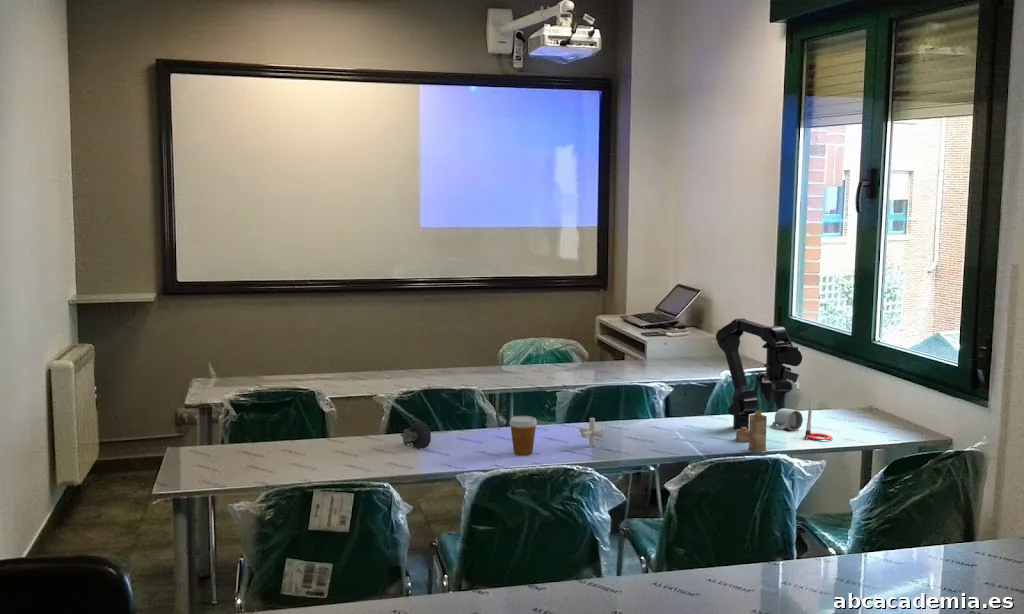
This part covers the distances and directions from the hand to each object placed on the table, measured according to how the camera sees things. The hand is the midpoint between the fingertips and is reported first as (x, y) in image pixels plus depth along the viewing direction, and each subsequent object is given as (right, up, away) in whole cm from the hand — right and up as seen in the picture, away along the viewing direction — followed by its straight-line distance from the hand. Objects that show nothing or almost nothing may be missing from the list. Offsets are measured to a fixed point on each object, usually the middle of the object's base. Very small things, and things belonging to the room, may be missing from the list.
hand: (773, 404), depth 316 cm
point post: (-10, -14, -13) cm, 22 cm away
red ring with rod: (+18, -13, +4) cm, 22 cm away
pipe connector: (-66, -14, -6) cm, 67 cm away
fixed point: (-11, -13, -1) cm, 17 cm away
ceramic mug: (+10, -11, +18) cm, 23 cm away
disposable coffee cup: (-90, -15, -15) cm, 92 cm away
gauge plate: (-10, -14, -7) cm, 19 cm away
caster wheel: (-128, -14, -6) cm, 129 cm away
